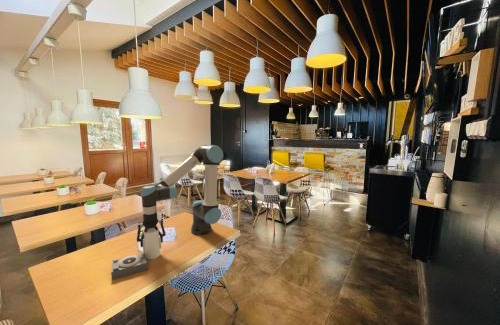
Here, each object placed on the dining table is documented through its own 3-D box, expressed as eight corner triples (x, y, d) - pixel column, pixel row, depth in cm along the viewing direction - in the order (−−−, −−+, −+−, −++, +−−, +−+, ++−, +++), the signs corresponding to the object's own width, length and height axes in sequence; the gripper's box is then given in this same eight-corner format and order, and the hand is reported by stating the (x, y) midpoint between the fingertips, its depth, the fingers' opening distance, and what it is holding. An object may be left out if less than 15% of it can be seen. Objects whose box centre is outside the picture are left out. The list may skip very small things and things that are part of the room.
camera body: (145, 259, 126) (145, 250, 125) (147, 269, 115) (146, 260, 115) (113, 267, 118) (112, 258, 117) (111, 279, 107) (111, 270, 107)
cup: (154, 260, 125) (152, 233, 123) (141, 258, 126) (140, 232, 125) (162, 252, 133) (161, 227, 131) (151, 251, 134) (149, 226, 133)
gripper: (167, 207, 135) (169, 242, 137) (129, 214, 125) (132, 251, 127) (169, 211, 129) (171, 247, 131) (129, 218, 118) (132, 257, 121)
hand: (152, 249), depth 129 cm, fingers closed on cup, 8 cm apart
